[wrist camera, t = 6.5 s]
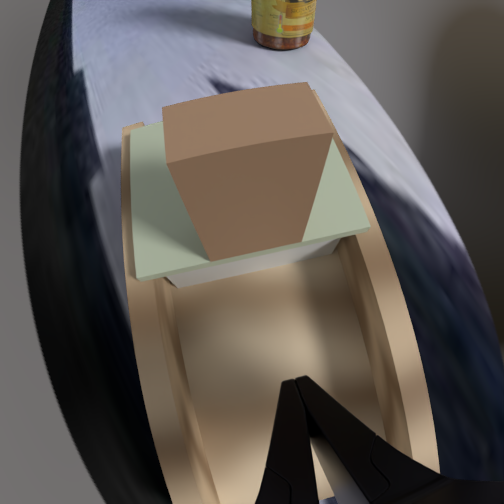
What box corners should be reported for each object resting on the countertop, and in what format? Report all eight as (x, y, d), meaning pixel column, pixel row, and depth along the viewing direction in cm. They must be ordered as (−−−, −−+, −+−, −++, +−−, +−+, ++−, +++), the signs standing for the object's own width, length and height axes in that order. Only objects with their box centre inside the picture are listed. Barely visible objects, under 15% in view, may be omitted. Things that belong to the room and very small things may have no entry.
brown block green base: (366, 231, 14) (438, 124, 7) (141, 281, 14) (44, 201, 7) (309, 101, 17) (324, -7, 10) (133, 136, 17) (87, 35, 10)
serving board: (416, 457, 14) (451, 474, 10) (192, 515, 13) (176, 547, 9) (316, 129, 22) (324, 88, 18) (133, 167, 21) (112, 130, 17)
